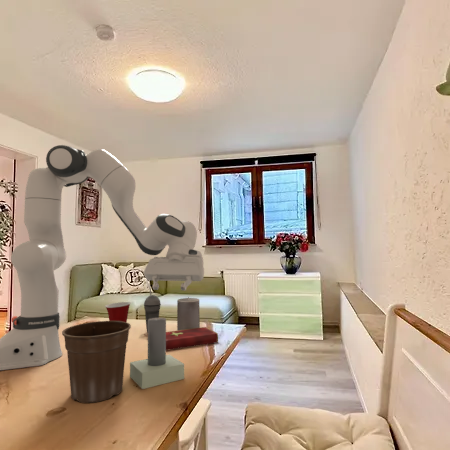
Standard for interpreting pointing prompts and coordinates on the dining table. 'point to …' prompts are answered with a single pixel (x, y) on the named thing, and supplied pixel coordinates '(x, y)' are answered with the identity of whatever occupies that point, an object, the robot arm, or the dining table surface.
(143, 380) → the block
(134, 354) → the dining table surface
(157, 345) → the slate jar
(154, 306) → the beverage cup
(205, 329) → the hardcover book
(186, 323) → the pillar candle
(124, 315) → the plastic cup
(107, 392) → the plant pot
